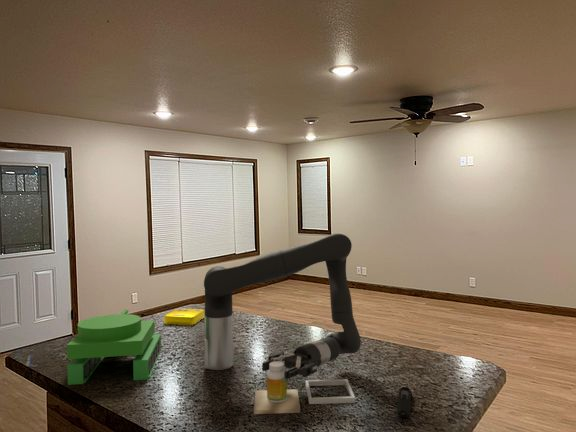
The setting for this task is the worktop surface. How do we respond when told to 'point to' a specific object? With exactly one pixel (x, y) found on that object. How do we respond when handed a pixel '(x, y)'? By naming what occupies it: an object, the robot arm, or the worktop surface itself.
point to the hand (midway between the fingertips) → (274, 371)
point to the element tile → (184, 316)
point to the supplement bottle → (276, 383)
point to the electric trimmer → (404, 402)
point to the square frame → (329, 399)
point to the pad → (269, 407)
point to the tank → (113, 345)
